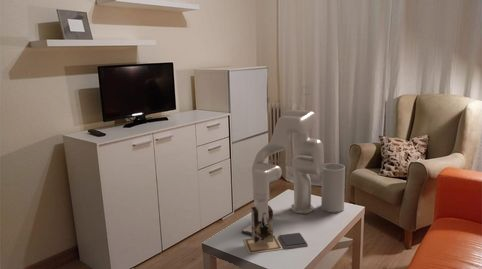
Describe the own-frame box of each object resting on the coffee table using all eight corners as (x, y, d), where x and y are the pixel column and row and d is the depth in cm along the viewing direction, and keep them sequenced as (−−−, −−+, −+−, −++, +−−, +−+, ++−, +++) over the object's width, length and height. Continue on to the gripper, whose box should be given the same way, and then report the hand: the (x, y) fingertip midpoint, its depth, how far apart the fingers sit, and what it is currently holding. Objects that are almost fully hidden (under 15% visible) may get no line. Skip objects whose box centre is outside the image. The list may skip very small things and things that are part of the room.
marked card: (243, 239, 181) (243, 238, 181) (275, 235, 184) (275, 234, 184) (248, 253, 169) (248, 252, 169) (282, 249, 172) (282, 248, 171)
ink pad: (278, 237, 182) (278, 234, 182) (299, 234, 184) (299, 232, 184) (284, 249, 172) (284, 246, 171) (307, 246, 174) (307, 243, 173)
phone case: (257, 221, 201) (240, 233, 189) (257, 218, 201) (240, 230, 188) (271, 225, 196) (255, 237, 184) (271, 222, 196) (255, 234, 183)
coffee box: (254, 244, 172) (253, 212, 168) (251, 238, 178) (250, 206, 175) (273, 242, 174) (273, 210, 170) (269, 235, 180) (269, 204, 176)
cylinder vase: (327, 202, 221) (328, 161, 215) (347, 207, 213) (348, 165, 207) (317, 209, 211) (317, 167, 206) (338, 215, 204) (339, 171, 198)
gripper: (249, 189, 178) (250, 223, 183) (257, 203, 162) (258, 240, 166) (264, 187, 180) (265, 221, 184) (274, 201, 163) (274, 238, 167)
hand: (262, 230), depth 175 cm, fingers closed on coffee box, 6 cm apart
